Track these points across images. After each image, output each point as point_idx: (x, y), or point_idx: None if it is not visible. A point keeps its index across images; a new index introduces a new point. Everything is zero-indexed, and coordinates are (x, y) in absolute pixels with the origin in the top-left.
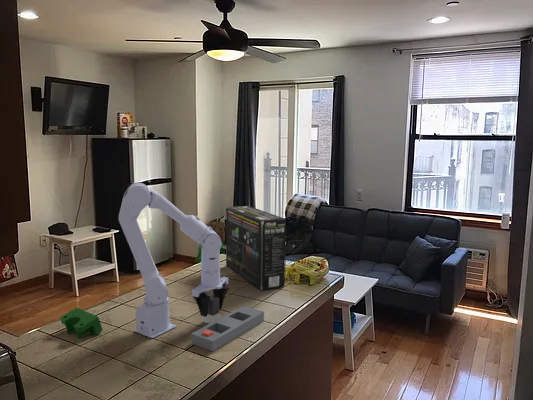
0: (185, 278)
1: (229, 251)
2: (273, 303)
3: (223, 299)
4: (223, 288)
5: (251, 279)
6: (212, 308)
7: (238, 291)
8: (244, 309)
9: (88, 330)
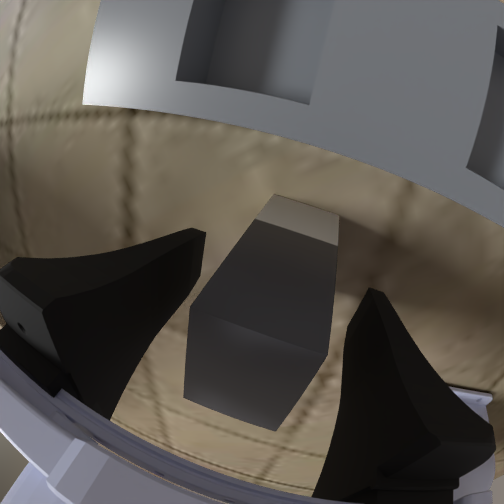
0: None
1: None
2: (11, 69)
3: (136, 249)
4: (49, 333)
5: None
6: (332, 288)
7: (12, 245)
8: (123, 60)
9: None
